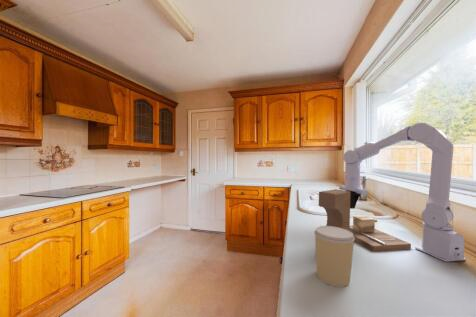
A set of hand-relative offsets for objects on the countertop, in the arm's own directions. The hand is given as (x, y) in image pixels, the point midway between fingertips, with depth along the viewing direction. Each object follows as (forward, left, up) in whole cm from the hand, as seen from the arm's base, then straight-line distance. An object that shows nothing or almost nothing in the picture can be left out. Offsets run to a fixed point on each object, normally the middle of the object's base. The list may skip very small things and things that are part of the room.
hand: (351, 208), depth 91 cm
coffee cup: (-33, +32, -9) cm, 47 cm away
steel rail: (-11, +4, -7) cm, 14 cm away
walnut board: (-11, +1, -9) cm, 14 cm away
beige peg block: (-7, -2, -7) cm, 10 cm away
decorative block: (-19, +22, -9) cm, 31 cm away
